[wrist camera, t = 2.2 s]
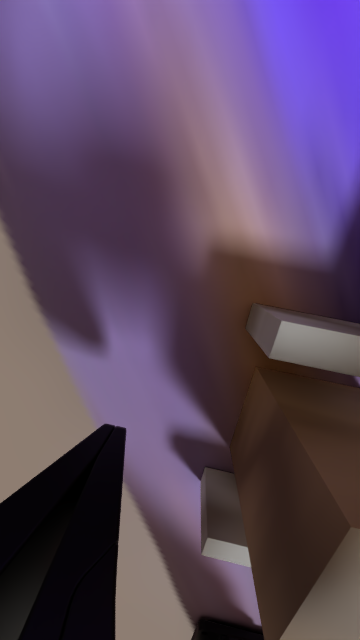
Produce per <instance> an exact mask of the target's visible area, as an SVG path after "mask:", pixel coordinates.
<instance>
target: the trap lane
mask: <svg viewBox="0 0 360 640" xmlns="http://www.w3.org/2000/svg"><path fill="white" fill-rule="evenodd" d="M245 329H246V330H247V331H248V332H249V334H250V335H251V336H252V337H253V339H254V340H255V341H256V343H257V344H258V345H259V346H260V348H261V349H262V350H263V351H264V353H265V354H266V355H267V356H268V358H270V359H275V360H280V361H285V362H290V363H295V364H300V365H304V366H309V367H314V368H319V369H324V370H329V371H334V372H338V373H343V374H348V375H353V376H358V377H360V324H358V323H353V322H348V321H343V320H338V319H333V318H328V317H323V316H317V315H312V314H307V313H302V312H297V311H292V310H287V309H282V308H277V307H271V306H266V305H261V304H256V303H253V304H252V308H251V311H250V314H249V318H248V321H247V325H246V328H245ZM201 554H202V555H203V556H207V557H211V558H215V559H219V560H223V561H227V562H231V563H236V564H240V565H244V566H248V567H251V563H250V557H249V552H248V546H247V540H246V535H245V529H244V524H243V518H242V513H241V507H240V501H239V496H238V490H237V485H236V479H235V474H233V473H229V472H224V471H220V470H216V469H211V468H207V467H205V469H204V472H203V475H202V479H201Z"/></svg>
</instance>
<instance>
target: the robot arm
mask: <svg viewBox="0 0 360 640" xmlns="http://www.w3.org/2000/svg"><path fill="white" fill-rule="evenodd" d="M125 441H126V428H124V427H119V426H116V427H115V426H114V425H110V424H104V425H102V426H101V427H100V428H98V429H97V430H96V431H94V432H93V433H92V434H91V435H89V436H88V437H87V438H85V439H84V440H83V441H81V442H80V443H79V444H77V445H76V446H75V447H74V448H72V449H71V450H70V451H68V452H67V453H66V454H64V455H63V456H62V457H60V458H59V459H58V460H57V461H55V462H54V463H53V464H51V465H50V466H49V467H47V468H46V469H45V470H43V471H42V472H41V473H40V474H38V475H37V476H36V477H34V478H33V479H32V480H30V481H29V482H28V483H26V484H25V485H24V486H22V487H21V488H20V489H19V490H17V491H16V492H15V493H13V494H12V495H11V496H9V497H8V498H7V499H6V500H4V501H3V502H2V503H0V640H115V596H116V575H117V557H118V540H119V526H120V512H121V497H122V484H123V470H124V455H125ZM191 640H264V636H263V635H260V634H256V633H253V632H249V631H245V630H241V629H237V628H233V627H229V626H226V625H222V624H218V623H214V622H210V621H206V620H200V621H199V622H198V624H197V626H196V629H195V631H194V634H193V636H192V639H191Z"/></svg>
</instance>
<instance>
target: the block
mask: <svg viewBox="0 0 360 640" xmlns="http://www.w3.org/2000/svg"><path fill="white" fill-rule="evenodd" d="M230 451H231V457H232V462H233V468H234V473H235V479H236V485H237V490H238V496H239V501H240V507H241V513H242V518H243V524H244V529H245V535H246V540H247V546H248V552H249V557H250V563H251V568H252V574H253V580H254V585H255V591H256V596H257V602H258V608H259V613H260V619H261V624H262V630H263V636H264V640H360V388H357V387H352V386H347V385H342V384H338V383H333V382H328V381H323V380H318V379H314V378H309V377H304V376H299V375H294V374H289V373H285V372H280V371H275V370H270V369H265V368H261V367H256V368H255V371H254V374H253V377H252V380H251V383H250V386H249V389H248V392H247V395H246V398H245V401H244V404H243V408H242V411H241V414H240V417H239V420H238V423H237V426H236V429H235V432H234V435H233V438H232V441H231V444H230Z"/></svg>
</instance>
